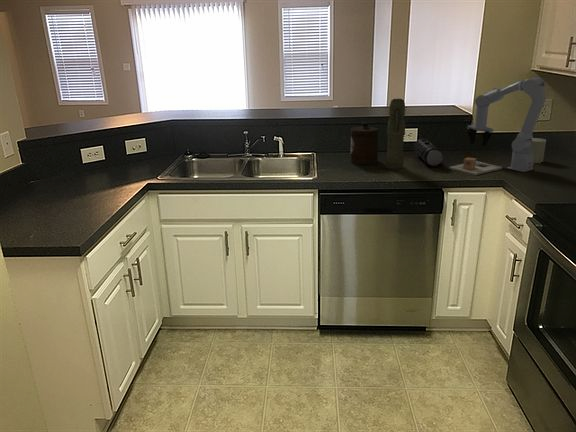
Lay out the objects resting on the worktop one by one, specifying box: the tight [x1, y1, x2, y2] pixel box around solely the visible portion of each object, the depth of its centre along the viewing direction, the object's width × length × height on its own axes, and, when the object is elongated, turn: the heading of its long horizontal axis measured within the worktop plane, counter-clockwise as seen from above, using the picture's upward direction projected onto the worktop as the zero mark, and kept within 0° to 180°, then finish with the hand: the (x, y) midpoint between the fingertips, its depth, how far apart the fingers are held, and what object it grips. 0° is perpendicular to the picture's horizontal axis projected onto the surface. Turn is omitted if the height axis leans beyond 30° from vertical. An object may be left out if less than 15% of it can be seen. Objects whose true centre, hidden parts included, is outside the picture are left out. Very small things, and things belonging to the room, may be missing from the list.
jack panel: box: [449, 160, 503, 176], centre depth 242 cm, size 16×20×1 cm
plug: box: [462, 157, 477, 171], centre depth 238 cm, size 4×5×6 cm
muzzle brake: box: [413, 138, 444, 167], centre depth 257 cm, size 10×28×10 cm, turn 178°
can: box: [529, 137, 547, 164], centre depth 250 cm, size 9×9×12 cm
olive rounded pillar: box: [385, 98, 406, 171], centre depth 243 cm, size 9×12×35 cm
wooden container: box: [350, 121, 379, 165], centre depth 260 cm, size 15×15×22 cm
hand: (478, 144), depth 252 cm, fingers open, 7 cm apart
